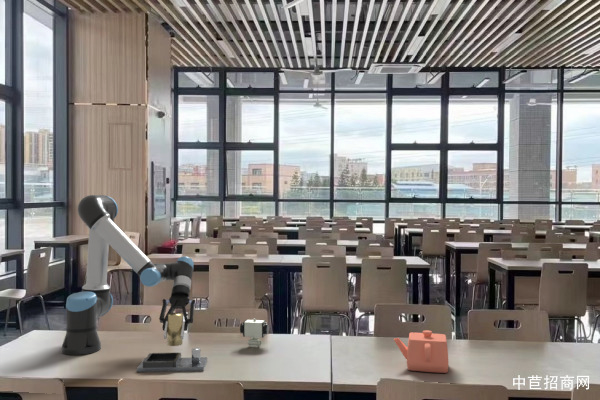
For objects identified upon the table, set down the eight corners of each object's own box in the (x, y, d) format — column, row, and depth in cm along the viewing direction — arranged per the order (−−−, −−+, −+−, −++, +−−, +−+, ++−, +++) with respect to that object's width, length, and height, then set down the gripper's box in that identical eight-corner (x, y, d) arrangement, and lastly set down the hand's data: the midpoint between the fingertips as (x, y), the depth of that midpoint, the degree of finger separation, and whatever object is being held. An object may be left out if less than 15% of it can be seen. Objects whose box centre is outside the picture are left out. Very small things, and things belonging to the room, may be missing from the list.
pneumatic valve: (266, 348, 226) (266, 320, 226) (239, 347, 228) (239, 319, 228) (269, 345, 231) (269, 317, 231) (243, 344, 233) (243, 316, 233)
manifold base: (136, 372, 195) (137, 354, 195) (144, 362, 207) (144, 345, 207) (203, 371, 197) (203, 353, 197) (207, 361, 209) (207, 344, 209)
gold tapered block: (165, 345, 213) (166, 315, 213) (168, 341, 219) (169, 312, 219) (181, 346, 213) (181, 316, 213) (183, 342, 219) (184, 312, 219)
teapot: (446, 360, 210) (447, 325, 210) (449, 379, 188) (449, 339, 188) (395, 357, 214) (395, 322, 214) (392, 374, 193) (392, 336, 193)
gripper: (204, 294, 232) (198, 342, 215) (159, 293, 231) (150, 341, 214) (203, 284, 226) (196, 332, 210) (157, 283, 225) (147, 332, 209)
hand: (173, 337), depth 212 cm, fingers closed on gold tapered block, 6 cm apart
